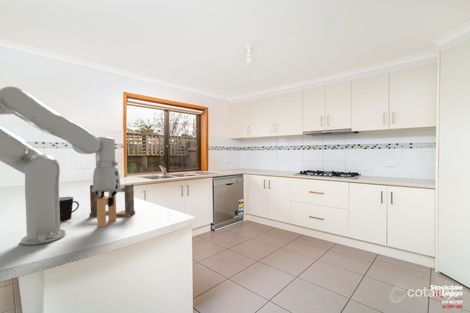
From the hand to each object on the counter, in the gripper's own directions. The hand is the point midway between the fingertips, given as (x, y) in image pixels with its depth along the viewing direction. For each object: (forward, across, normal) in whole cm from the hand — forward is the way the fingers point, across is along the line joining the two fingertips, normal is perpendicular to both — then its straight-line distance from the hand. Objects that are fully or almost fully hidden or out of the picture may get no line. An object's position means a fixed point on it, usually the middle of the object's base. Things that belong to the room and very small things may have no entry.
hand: (106, 205), depth 99 cm
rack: (+8, +5, -12) cm, 16 cm away
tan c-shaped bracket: (+8, 0, 0) cm, 8 cm away
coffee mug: (+8, +24, -5) cm, 26 cm away
